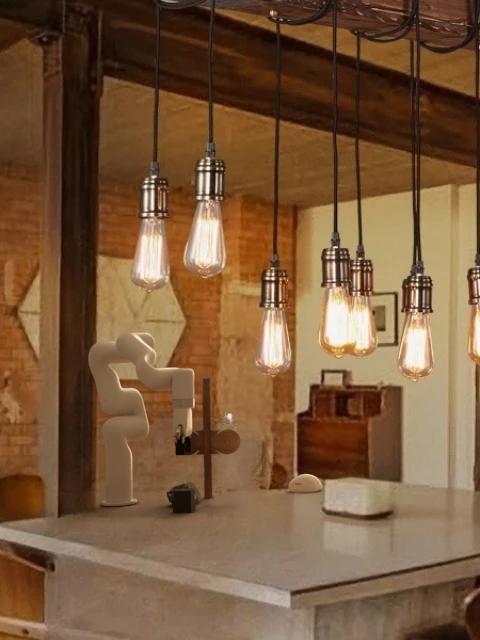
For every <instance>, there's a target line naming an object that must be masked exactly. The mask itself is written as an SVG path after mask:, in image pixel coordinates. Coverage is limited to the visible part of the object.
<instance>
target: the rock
mask: <svg viewBox="0 0 480 640" xmlns="http://www.w3.org/2000/svg"><path fill="white" fill-rule="evenodd" d="M185 488H194V494H195V495H194V496H195V503H197V502H198V501H200V500H201V498H202V497H201V492H200V490H199V489H198V487H197V485H196V484H195V483H193V482H192V481H189V482H185V483H181V484H178V485H175V486H173V487H171V488H170V490H168V491H166V497H167V500H168V502H169V503H170V504H171V505H172V506H174V498H173V491H174V490H176V489H185Z"/></svg>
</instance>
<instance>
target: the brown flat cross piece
mask: <svg viewBox="0 0 480 640" xmlns="http://www.w3.org/2000/svg"><path fill="white" fill-rule="evenodd" d="M211 415H212V412H211V377H209V376H204V377H203V378H202V429H195V430H194V431H193V430H192V434H191V452H185V455H184V456H192V455H194V454H195V455H197V456H198V455H199V456H200V455H202V456H203V470H204V471H203V478H204V479H203V489H204V491H203V492H204V493H203V494H204V495H203V496H204V499H211V498H213V463H212V462H213V461H212V459H213V457H212V455H220V454H223V455H226V456H227V455H232V454H234V453H236V452H237V451H238V450H239V448H240V447H241V437H240V435H239V433H238V432H237V431H236V430H234V429H231V428H226V429H223V430H221V429H212V419H211V418H212V417H211ZM175 444H176V438H175V439H174V445H175Z"/></svg>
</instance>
